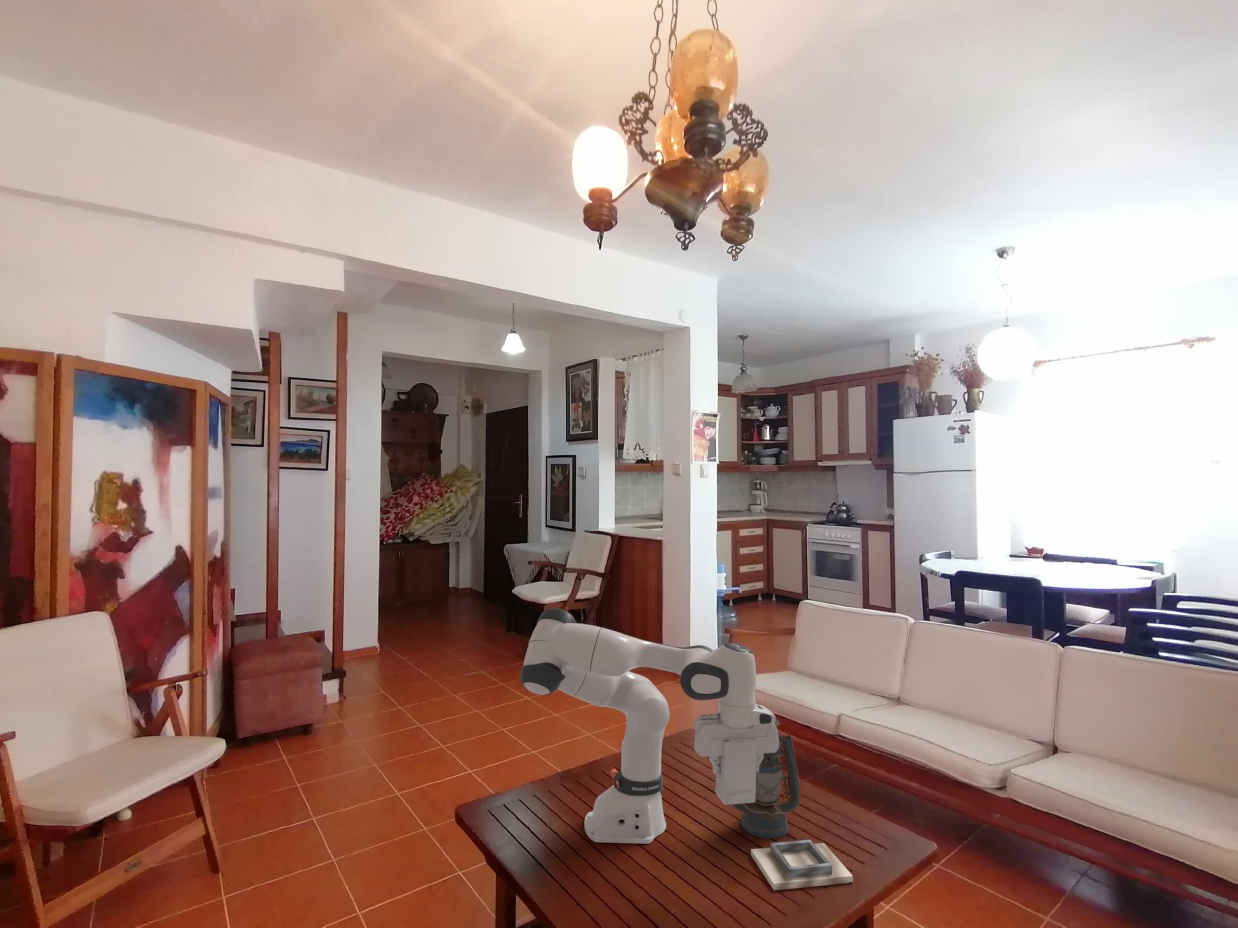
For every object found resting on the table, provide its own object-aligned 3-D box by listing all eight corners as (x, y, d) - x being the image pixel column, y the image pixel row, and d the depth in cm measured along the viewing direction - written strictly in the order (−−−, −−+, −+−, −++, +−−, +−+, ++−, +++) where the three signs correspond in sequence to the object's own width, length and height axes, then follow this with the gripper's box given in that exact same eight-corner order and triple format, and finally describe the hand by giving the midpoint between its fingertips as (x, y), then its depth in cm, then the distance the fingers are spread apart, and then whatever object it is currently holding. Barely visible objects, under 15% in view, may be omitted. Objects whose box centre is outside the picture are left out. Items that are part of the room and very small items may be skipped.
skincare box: (745, 791, 153) (748, 729, 154) (756, 804, 147) (758, 739, 148) (713, 793, 151) (716, 730, 152) (722, 805, 145) (725, 740, 146)
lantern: (792, 813, 180) (793, 708, 181) (808, 842, 166) (809, 727, 167) (725, 813, 180) (726, 707, 181) (735, 841, 166) (736, 726, 167)
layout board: (773, 890, 146) (773, 874, 146) (750, 855, 160) (751, 841, 160) (852, 882, 149) (852, 867, 150) (823, 848, 163) (823, 834, 163)
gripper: (698, 719, 145) (697, 780, 145) (781, 716, 149) (781, 775, 148) (690, 710, 151) (690, 768, 151) (770, 706, 155) (770, 763, 154)
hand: (735, 771), depth 149 cm, fingers closed on skincare box, 8 cm apart
